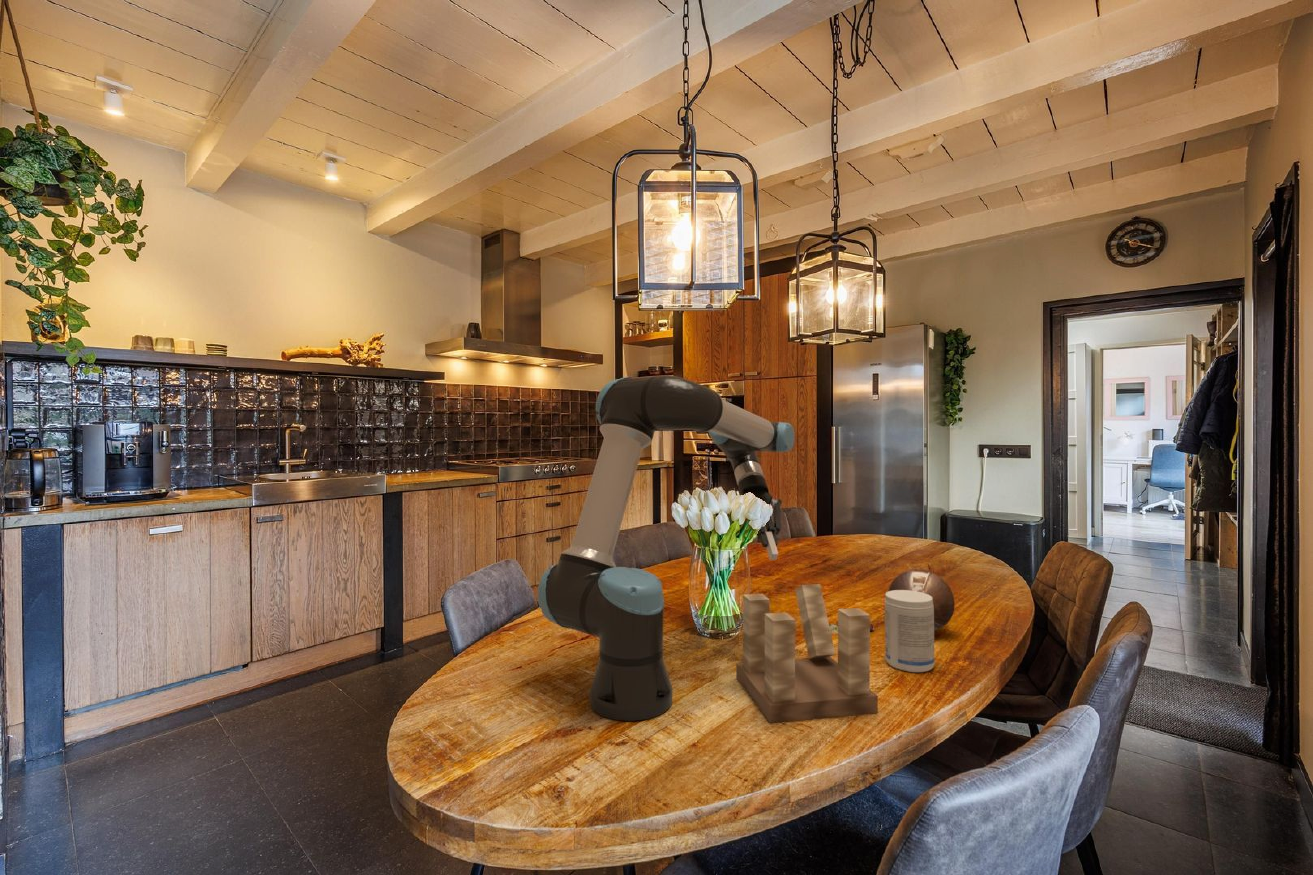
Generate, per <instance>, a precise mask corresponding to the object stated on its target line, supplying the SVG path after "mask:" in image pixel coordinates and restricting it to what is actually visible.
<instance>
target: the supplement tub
mask: <svg viewBox="0 0 1313 875" xmlns="http://www.w3.org/2000/svg"><path fill="white" fill-rule="evenodd" d="M884 597H885V598H884V644H885V646H884V648H885V650H884V652H885V654H884V655H885V656H884V657H885V662H887V664H888V665H890V666H891V667H893V668H895V669H897V670H900V671H906V672H908V673H909V672H910V673H924V672H925V673H926V672H928V671H931V670H933V668H934V667H935V631H934V606H933V598H932V597H931V596H930V595H928V594H925V593H922V592H917V591H910V590H893V591H889V592H888V591H886V593H885V595H884Z"/></svg>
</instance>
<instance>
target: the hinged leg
mask: <svg viewBox="0 0 1313 875" xmlns="http://www.w3.org/2000/svg"><path fill="white" fill-rule="evenodd" d="M794 592H795V596H796V601H797V606H798V610H799V614H800V615H799V617H800V620H801V625H802V632H803V636H804V640H805V646H806V650H807V655H808V658H809V659H814V658H827V657H832V656H835V655H836V650H835V646H834V641H833V636H832V633H831V631H830V627H829V624H830V623H829V618H828V615H827V610H826V604H825V601H824V597H823V596H824V595H823V592H822V586H821V583H813V584H801V585H800V586H798V587H797V588H796V589H795V590H794Z"/></svg>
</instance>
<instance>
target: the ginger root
mask: <svg viewBox="0 0 1313 875" xmlns="http://www.w3.org/2000/svg"><path fill="white" fill-rule="evenodd" d="M829 627H830V631H831V634H838V620H837V621H836V622H835V623H834V624H831V623H829ZM874 629H875V626H874V624H873V623H872V622H870V631H874Z"/></svg>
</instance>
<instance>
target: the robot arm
mask: <svg viewBox="0 0 1313 875" xmlns="http://www.w3.org/2000/svg"><path fill="white" fill-rule="evenodd" d="M595 412H597V414H596V418H597V419H596V420H598V423H599V424H600V425H599V431H600V433H601V435H602V436H603V440H602V444H601V447H600V450H599V452H598V453H599V454H598V457H597V459H596V464H595V467H594V470H593V473H592V476H591V479H590V483H589V485H588V486H589V487H588V489H587V493H586V497H585V499H584V504H583V506H582V509H581V513H580V516H579V520H578V523H577V526H576V529H575V533H574V535H573V540H572V543H571V545H570V547H568V548H566V549H565V550H563V551H561V553H560V556H559V560H558V562H557V563H555V564H553V565H550V566H549V567H548V569H547V570H545V571H544V572H543V574H542V575H541V577H540V580H539V583H538V588H537V602H538V605H539V606H538V607H539V608H540V611H541V613H542V615H543V616H544V617H545V619H547V621H549V622H551V623H553V624H555V625H558V626H559V627H561V628H563V629H571V630H574V631H576V632H581V633H584V634H586V635H590V636H594V637H597V638H599V640H598V641H599V642H598V643H599V645H598V646H599V657H598V658H599V660H598V664H597V667H596V668H595V672H594V676H593V678H592V682H591V685H590V688H589V705H590V707H591V709H592V711H594V712H595V713H596V714H598V715H600V716H602V717H605V718H607V719H610V720H616V721H617V720H618V721H624V722H626V721H627V722H628V721H629V722H632V721H635V722H636V721H642V720H649V719H652V718H655V717H657V716H658V717H659V716H660V715H663V714H664V713H665V712H667V711H668V710H670V707H671V706H672V705H673V700H674V699H673V696H674V695H673V692H674V691H673V686H672V683H671V680H670V677H669V674H668V670H667V667H666V664H665V660H664V607H665V600H664V596H663V593H664V592H663V585H662V582H661V580H660V579H659V578H658V577H657V575H655V574H654V573H651V572H650V571H647V570H644V569H642V568H637V567H627V566H616V563H615V561H614V559H613V557H614V556H613V555H614V552H615V547H616V545H617V542H618V538H619V534H620V531H621V526H622V525H623V524H622V523H623V520H624V516H625V512H626V509H627V505H628V502H629V498H630V494H631V491H632V488H633V484H634V480H635V478H636V474H637V469H638V466H639V462H640V459H641V455H642V451H643V449H645V448H647V447H649V446H651V444H652V443H653V442H652V441H653V439H654V434H655V432H656V431H657V432H659V431H664V432H665V431H694V432H697V433H707V432H708V435H709V436H710V438H711V440H712V441H713V443H714V444H715V445H716V446H717V447H718V448H719V449H720V451H722V453H723V454H724V455H725V457H726V458H727V459H728V460H729V462H730V463H731V467H732V469H733V473H734V477H735V481H736V484H737V486H738V487H737V488H738V492H739V495H740V496H741V495H744V494H745V493H748V492H751V493H753V494H754V495H755V496H756V497H758V498H760V499H762V500H763V501H765V502H766V503H767V504H769V506H770V505H771V506H772V507H771V508H772V509H773V511H772V513H773V514H772V516H773V517H772V516H770V520H769V521H768V522H767V523H766V525H765V524H764V527H762V528H761V529H760V530H759V531H758V534H757V535H756V536H757V539H758V540H760V543H761V546H762V548H765V549H766V551H767V555H768V558H769V561H776V560H777V558H778V556H779V551H778V548H777V546H778V544H779V541H778V537H777V536H779V535H780V531H781V530H782V520H781V519H782V517H781V516H782V514H781V506H782V503H783V501H782V499H778V500H777V499H774V498H773V496H772V495H771V494H770V491H769V487H768V484H767V481H766V479H765V475H764V473H763V472H764V471H763V469H762V467H761V463H760V461H759V458H758V454H757V452H769V453H772V452H773V453H787V452H790V451H791V450H792V449H793V447H794V444H795V438H796V436H795V430H794V426H792V424H790V423H789V422H782V421H778V422H773V421H771V420H768V419H766V418H764V417H762V416H759V415H757V414H755V413H752V412H750V411H748V410H746V409H744V408H743V407H742V408H741V407H740V406H738V405H735V404H733V403H730V402H728V401H727V400H725V399H722V397H721V395H720V393H718V392H717V391H716V390H714V389H711V388H709V387H707V386H705V385H703V384H700V383H698V382H695V381H692V380H690V379H686V378H683V377H680V376H676V375H670V374H668V375H667V374H666V375H665V374H664V375H653V376H640V377H639V376H638V377H633V376H625V377H621V378H619V379H618V378H617V379H613V380H611V381H609V382H607V383H606V384H605V385H603V387H602V388H601V389H600V391H599V393H598V396H597V398H596V402H595Z"/></svg>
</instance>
